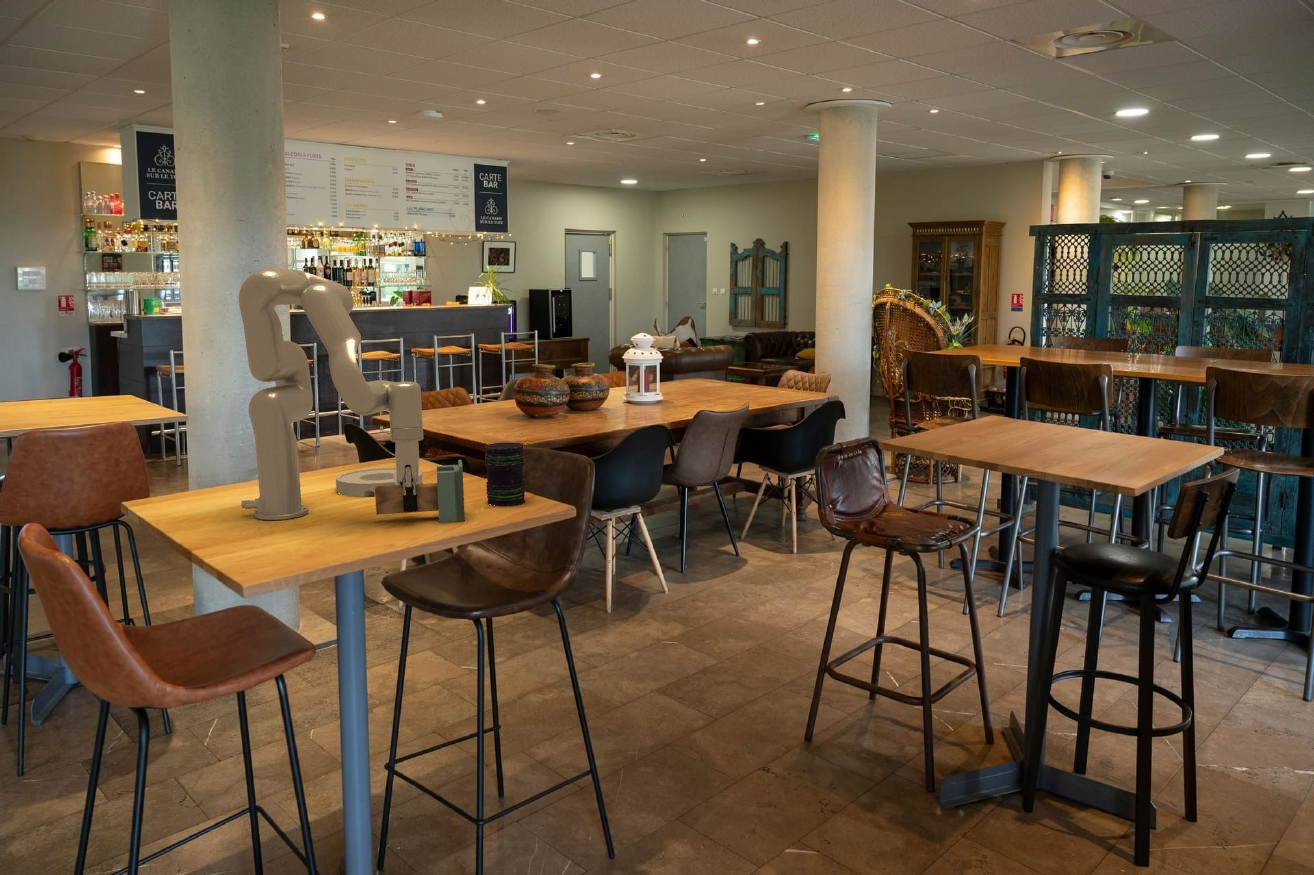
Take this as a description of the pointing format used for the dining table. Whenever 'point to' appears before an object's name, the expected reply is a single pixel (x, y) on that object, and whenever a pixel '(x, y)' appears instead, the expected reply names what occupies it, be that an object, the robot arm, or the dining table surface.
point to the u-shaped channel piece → (450, 493)
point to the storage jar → (505, 474)
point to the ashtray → (366, 481)
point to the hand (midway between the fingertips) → (411, 508)
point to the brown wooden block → (392, 498)
